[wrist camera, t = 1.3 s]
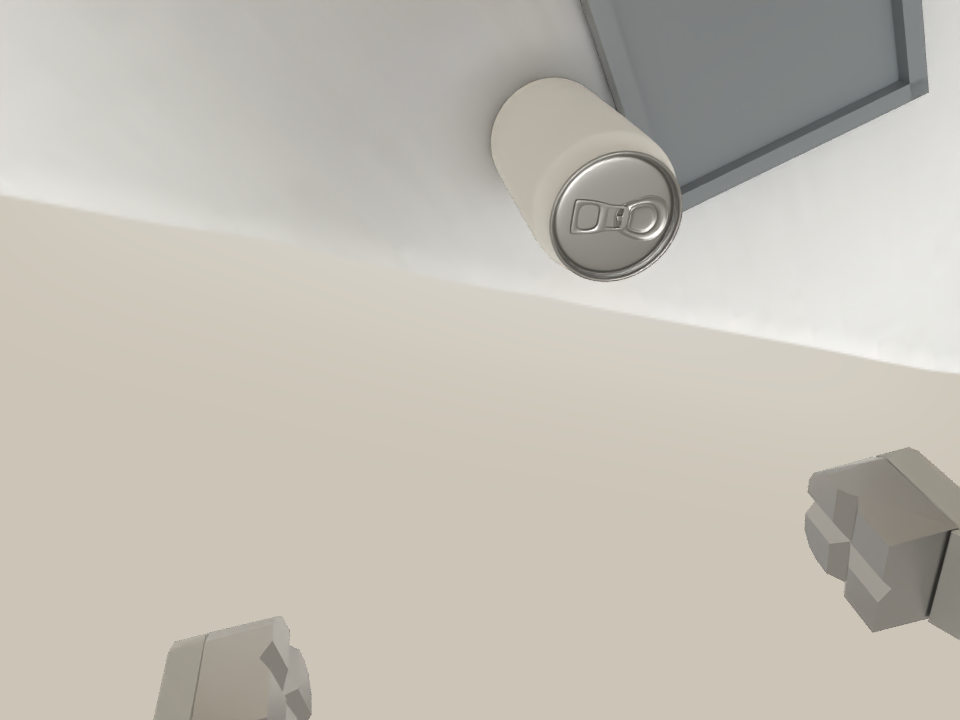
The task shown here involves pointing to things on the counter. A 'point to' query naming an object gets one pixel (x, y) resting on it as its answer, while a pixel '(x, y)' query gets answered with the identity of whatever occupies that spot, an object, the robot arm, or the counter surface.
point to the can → (586, 180)
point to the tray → (754, 77)
